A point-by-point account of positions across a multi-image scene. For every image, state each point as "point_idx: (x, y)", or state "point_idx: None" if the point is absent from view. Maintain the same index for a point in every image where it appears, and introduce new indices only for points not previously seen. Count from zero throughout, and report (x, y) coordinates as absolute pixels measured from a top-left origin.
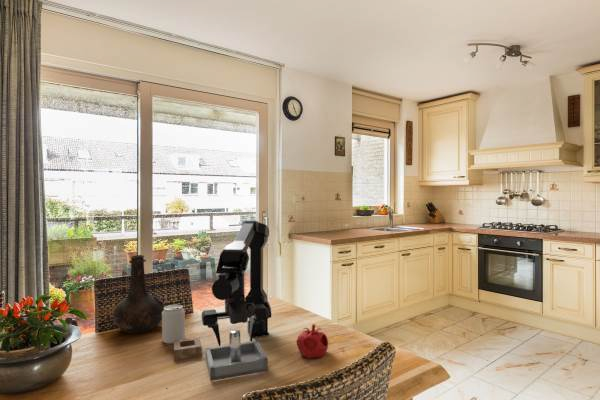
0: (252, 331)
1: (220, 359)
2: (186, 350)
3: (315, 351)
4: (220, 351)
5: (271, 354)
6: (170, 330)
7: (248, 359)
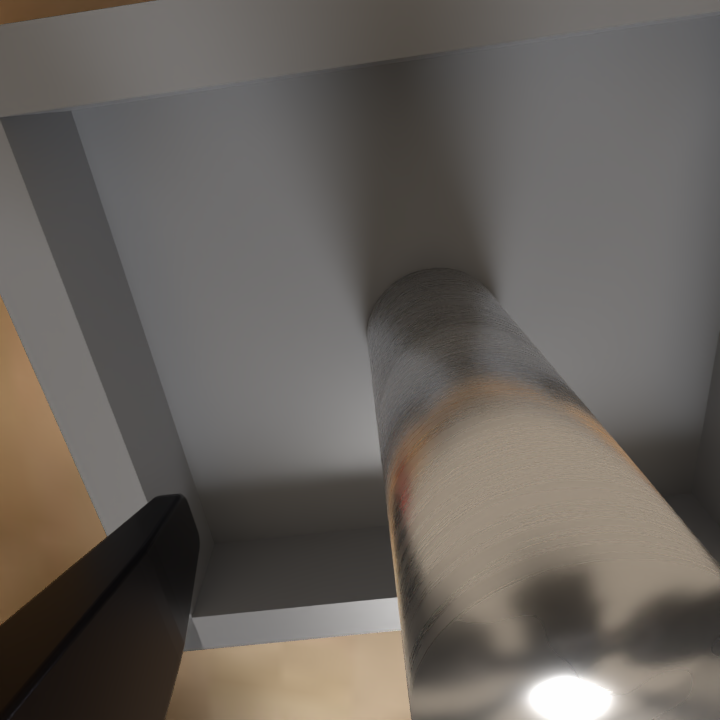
0: (23, 664)
1: None
2: None
3: None
4: None
5: (34, 475)
6: None
7: (275, 359)
